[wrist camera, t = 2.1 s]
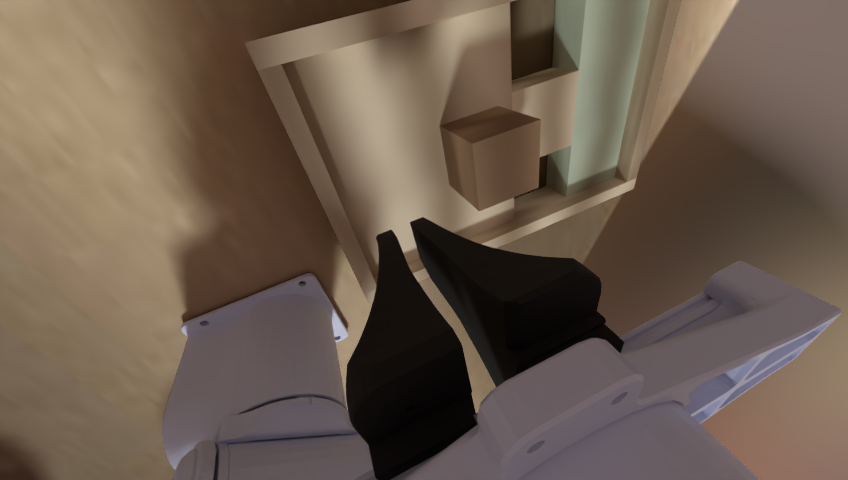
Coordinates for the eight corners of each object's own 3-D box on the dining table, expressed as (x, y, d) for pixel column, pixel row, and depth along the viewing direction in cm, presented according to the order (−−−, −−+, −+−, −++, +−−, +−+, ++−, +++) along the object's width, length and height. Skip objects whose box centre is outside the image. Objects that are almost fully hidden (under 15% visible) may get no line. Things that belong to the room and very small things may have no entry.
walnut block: (449, 185, 20) (479, 211, 17) (439, 125, 18) (472, 143, 15) (500, 165, 21) (538, 187, 18) (498, 105, 19) (541, 119, 16)
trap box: (358, 272, 25) (368, 303, 22) (251, 41, 15) (243, 42, 12) (598, 173, 29) (633, 188, 26) (636, -56, 19) (699, -73, 16)
